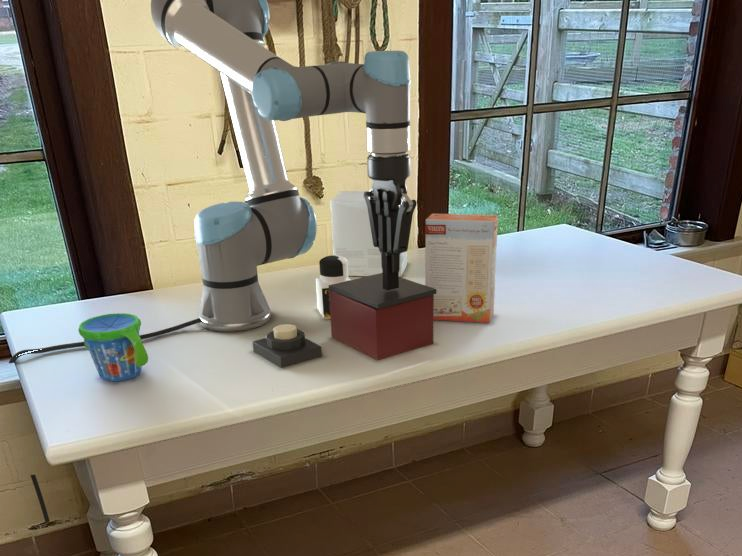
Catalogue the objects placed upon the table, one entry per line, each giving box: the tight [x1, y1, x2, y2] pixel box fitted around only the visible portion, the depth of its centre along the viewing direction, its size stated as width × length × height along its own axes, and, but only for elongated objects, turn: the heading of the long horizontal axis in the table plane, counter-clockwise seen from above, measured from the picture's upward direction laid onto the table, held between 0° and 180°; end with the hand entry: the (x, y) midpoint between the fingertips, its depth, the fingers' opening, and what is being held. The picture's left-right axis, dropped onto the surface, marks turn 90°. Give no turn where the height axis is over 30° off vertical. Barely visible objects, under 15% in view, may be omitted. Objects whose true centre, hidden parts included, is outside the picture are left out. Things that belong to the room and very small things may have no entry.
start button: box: [272, 323, 298, 340], centre depth 151 cm, size 4×4×2 cm
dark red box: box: [329, 290, 435, 361], centre depth 156 cm, size 16×14×10 cm
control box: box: [251, 328, 323, 369], centre depth 152 cm, size 11×9×4 cm
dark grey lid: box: [329, 273, 436, 309], centre depth 152 cm, size 17×14×1 cm
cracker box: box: [424, 213, 499, 324], centre depth 163 cm, size 14×6×21 cm, turn 74°
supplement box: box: [329, 190, 408, 278], centre depth 196 cm, size 17×13×18 cm
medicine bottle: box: [315, 255, 351, 320], centre depth 170 cm, size 7×7×12 cm
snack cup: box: [78, 312, 149, 383], centre depth 144 cm, size 16×10×10 cm
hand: (390, 288), depth 150 cm, fingers closed
